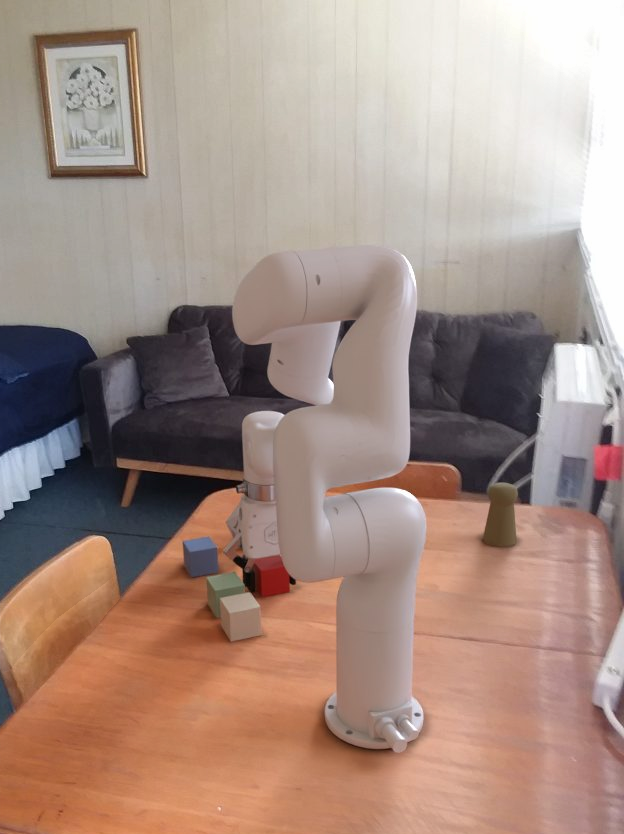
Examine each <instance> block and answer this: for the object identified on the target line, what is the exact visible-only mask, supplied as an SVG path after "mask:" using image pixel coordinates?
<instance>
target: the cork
mask: <svg viewBox="0 0 624 834" xmlns="http://www.w3.org/2000/svg"><path fill="white" fill-rule="evenodd" d="M487 496H488V500H489V501H490V503H489V507H488V513H487V517H486V521H485V527H484V530H483V536H482V540H483V542H484V543H485V544H488V545H489V546H493V547H499V548H500V547H501V548H506V547H512V546H514V545H516V543H518V542H517V526H516V511H515V503H516V502H517V500H518V497H519V492H518V489H517V487H516V486H515V485H513V484H511V483H508V482H495V483H493V484H491V485H490V487H489V488H488V491H487Z"/></svg>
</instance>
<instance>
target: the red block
mask: <svg viewBox="0 0 624 834" xmlns="http://www.w3.org/2000/svg"><path fill="white" fill-rule="evenodd" d="M252 569H253V571H254V572H255V591H256V592H257V593H258V595H259V596H260V597H261V598H266V597H267V598H268V597H271V596H276V595H282V594H287V593H290V591H291V590H290V589H291V588H290V585H291V584H290V583H289V573H288V572H287V570H286V569H285V567H284V564H283V561H282V558H281V555H277V556H271V557H266V558H260V559H256V560H255V562H254V564H253V567H252Z"/></svg>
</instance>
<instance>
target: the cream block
mask: <svg viewBox="0 0 624 834" xmlns="http://www.w3.org/2000/svg"><path fill="white" fill-rule="evenodd" d="M261 608H262V607H261V605H260V604H259V602H258V601H257V600H256V598H255V597H254V595H253V593H251V592H250V591H249V592H245V593H243V594H238V595H233V596H228V597H223V598H220V613H221V617H220V626H221V628H222V630H223V631H224V633H225V634H226V636H227V638H228V639H229V641H230V642H231V643H232V642H237V641H241V640H245V639H250V638H254V637H260V636H262V631H263V630H262V609H261Z"/></svg>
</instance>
